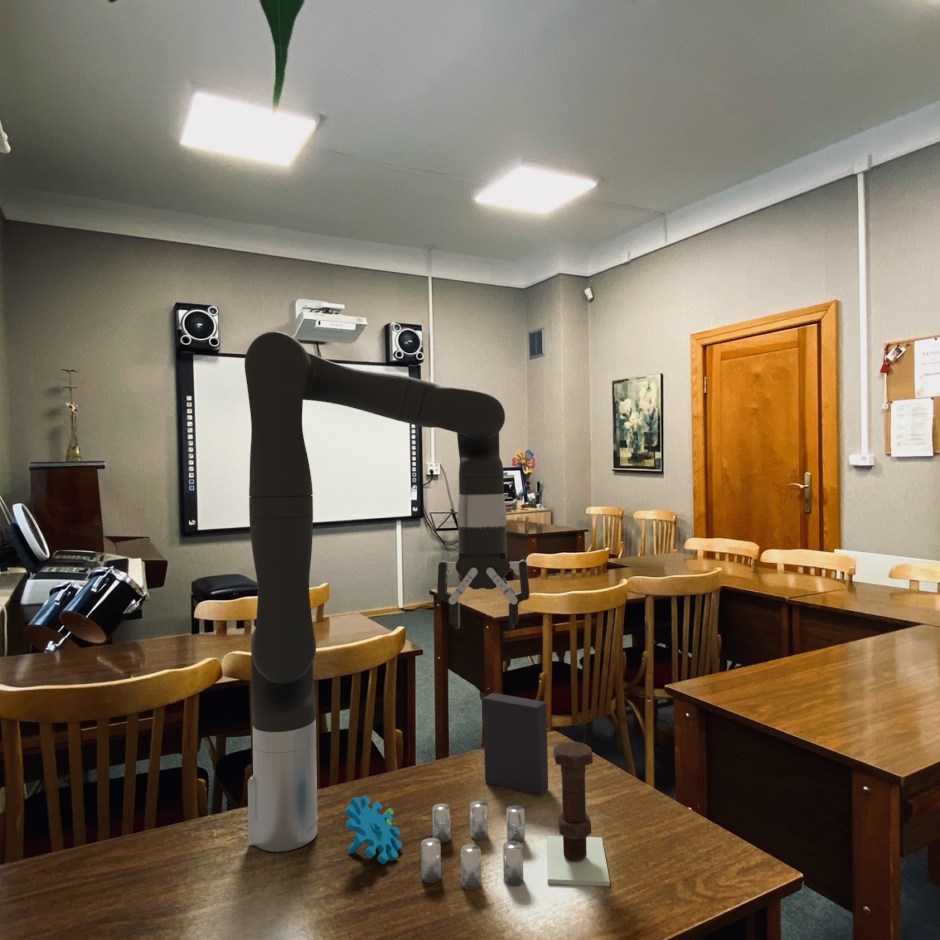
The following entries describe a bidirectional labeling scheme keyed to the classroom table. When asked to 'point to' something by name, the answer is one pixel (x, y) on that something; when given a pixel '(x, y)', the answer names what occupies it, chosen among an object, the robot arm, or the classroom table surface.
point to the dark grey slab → (515, 743)
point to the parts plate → (577, 864)
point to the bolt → (573, 798)
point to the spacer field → (472, 851)
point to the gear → (373, 829)
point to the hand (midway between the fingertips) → (484, 627)
